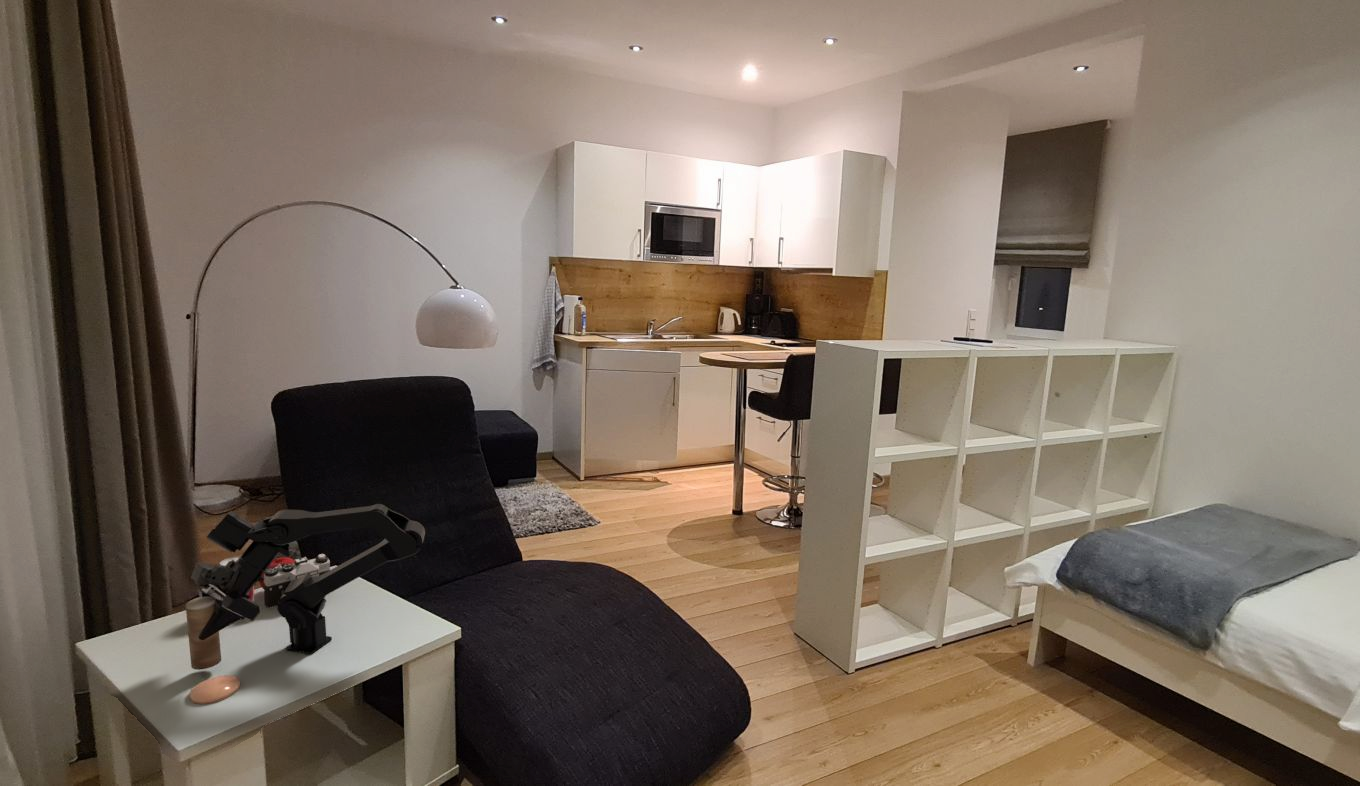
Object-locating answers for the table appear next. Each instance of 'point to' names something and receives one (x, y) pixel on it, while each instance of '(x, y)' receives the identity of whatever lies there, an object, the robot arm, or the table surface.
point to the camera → (290, 576)
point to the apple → (275, 563)
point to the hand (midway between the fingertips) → (195, 634)
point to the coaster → (214, 689)
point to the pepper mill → (197, 618)
